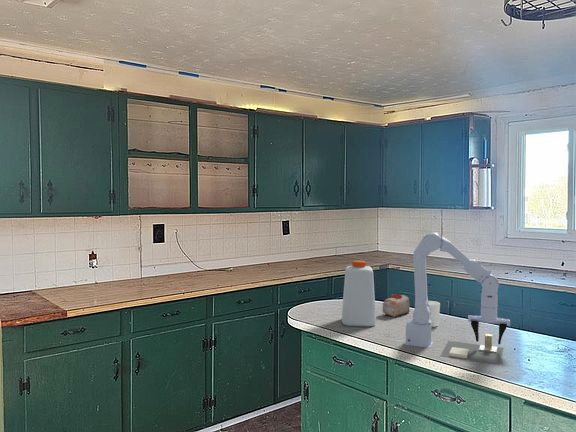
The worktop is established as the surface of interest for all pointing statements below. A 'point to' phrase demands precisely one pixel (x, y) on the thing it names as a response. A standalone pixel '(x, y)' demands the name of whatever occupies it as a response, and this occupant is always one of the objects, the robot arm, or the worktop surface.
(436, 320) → the white cup
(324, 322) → the worktop surface
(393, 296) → the food item
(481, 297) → the robot arm
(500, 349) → the mat
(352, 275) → the plastic bottle
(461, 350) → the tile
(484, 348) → the beige blocky piece
